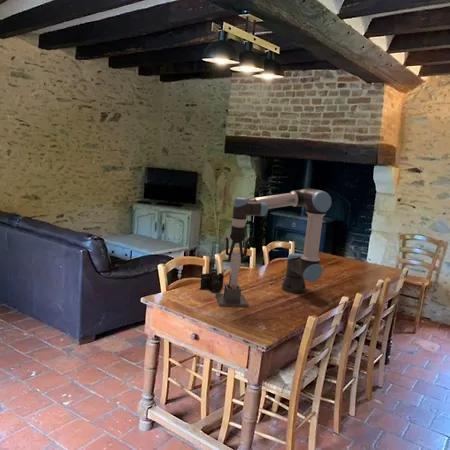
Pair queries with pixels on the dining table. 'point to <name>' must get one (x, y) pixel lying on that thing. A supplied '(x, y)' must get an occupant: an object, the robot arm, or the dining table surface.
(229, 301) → the stand base
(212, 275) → the camera
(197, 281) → the dining table surface
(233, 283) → the column
